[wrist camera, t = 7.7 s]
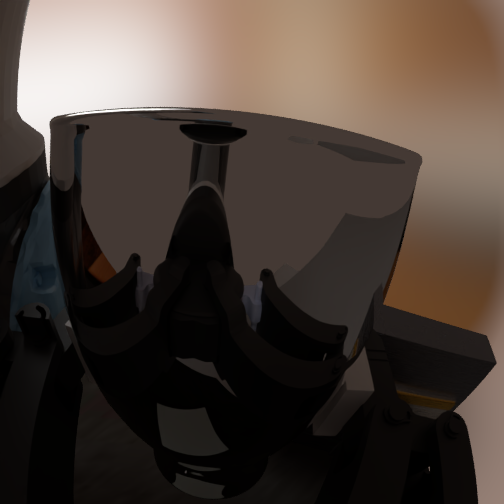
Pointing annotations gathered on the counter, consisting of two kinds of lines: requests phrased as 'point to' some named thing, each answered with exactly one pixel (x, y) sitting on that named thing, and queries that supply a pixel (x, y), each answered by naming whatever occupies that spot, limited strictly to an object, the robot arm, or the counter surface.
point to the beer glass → (222, 273)
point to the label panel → (424, 366)
